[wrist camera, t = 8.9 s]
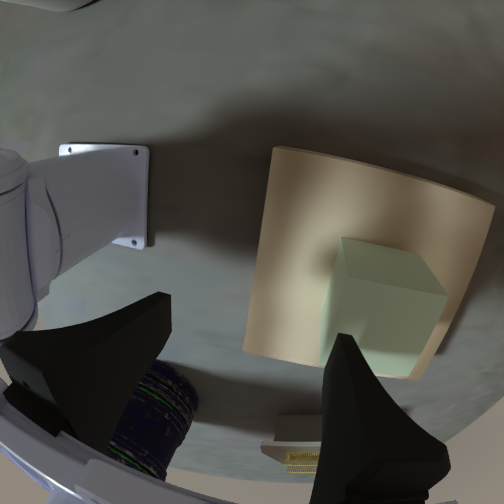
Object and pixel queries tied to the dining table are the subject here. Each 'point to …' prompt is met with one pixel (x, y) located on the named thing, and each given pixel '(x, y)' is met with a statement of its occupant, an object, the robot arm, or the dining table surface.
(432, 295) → the green cube
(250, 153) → the dining table surface
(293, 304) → the birch base
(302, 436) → the platform
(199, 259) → the dining table surface
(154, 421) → the storage jar
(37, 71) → the dining table surface
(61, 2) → the cylinder vase
